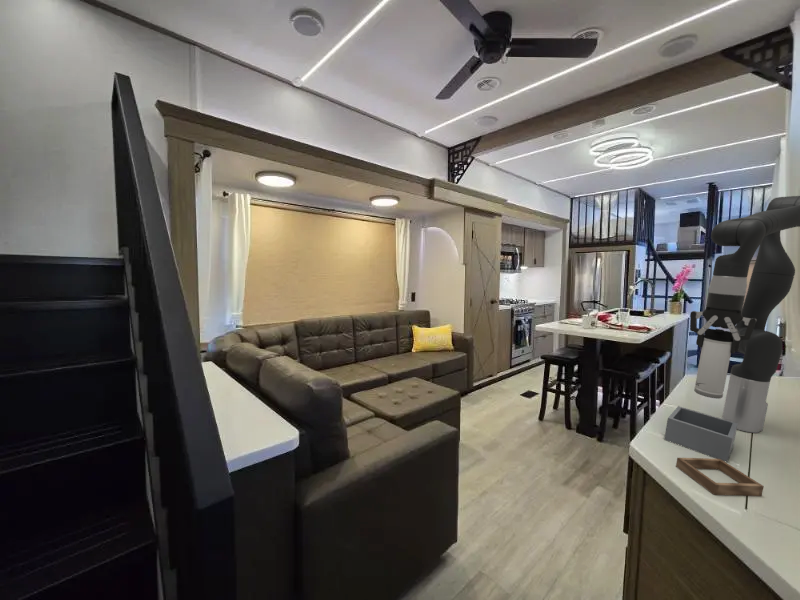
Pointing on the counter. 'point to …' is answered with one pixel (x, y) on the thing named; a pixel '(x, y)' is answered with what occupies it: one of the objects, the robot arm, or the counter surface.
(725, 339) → the travel mug
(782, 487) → the counter surface
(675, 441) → the gray bin
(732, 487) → the walnut holder
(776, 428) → the counter surface
